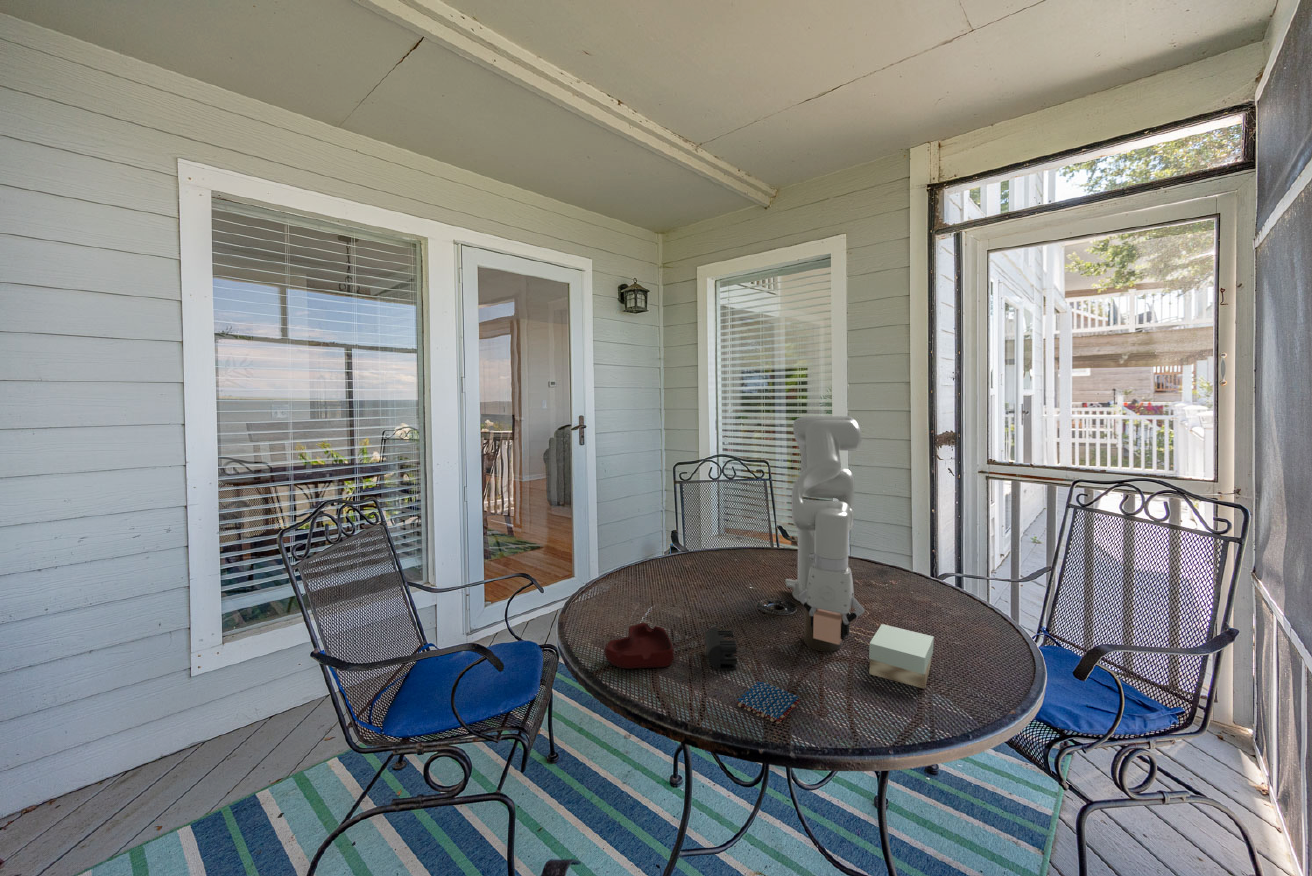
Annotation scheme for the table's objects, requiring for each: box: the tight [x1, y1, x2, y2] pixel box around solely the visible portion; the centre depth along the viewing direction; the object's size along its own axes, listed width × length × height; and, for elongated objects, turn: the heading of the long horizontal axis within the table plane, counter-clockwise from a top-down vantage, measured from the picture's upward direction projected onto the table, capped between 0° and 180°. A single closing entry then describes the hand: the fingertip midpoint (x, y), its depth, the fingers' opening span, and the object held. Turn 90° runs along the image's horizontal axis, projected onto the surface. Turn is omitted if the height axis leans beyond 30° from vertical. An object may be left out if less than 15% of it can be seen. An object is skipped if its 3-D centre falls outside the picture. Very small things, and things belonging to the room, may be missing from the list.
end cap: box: [704, 626, 738, 671], centre depth 136 cm, size 10×7×7 cm
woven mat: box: [736, 681, 801, 724], centre depth 118 cm, size 10×11×2 cm
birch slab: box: [869, 658, 932, 690], centre depth 130 cm, size 12×12×4 cm
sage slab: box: [868, 623, 935, 674], centre depth 130 cm, size 12×12×4 cm
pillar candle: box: [803, 607, 843, 653], centre depth 143 cm, size 10×10×15 cm
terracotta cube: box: [813, 609, 843, 645], centre depth 128 cm, size 6×6×6 cm
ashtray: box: [604, 622, 675, 670], centre depth 138 cm, size 18×16×5 cm
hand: (829, 633), depth 128 cm, fingers closed on terracotta cube, 6 cm apart
